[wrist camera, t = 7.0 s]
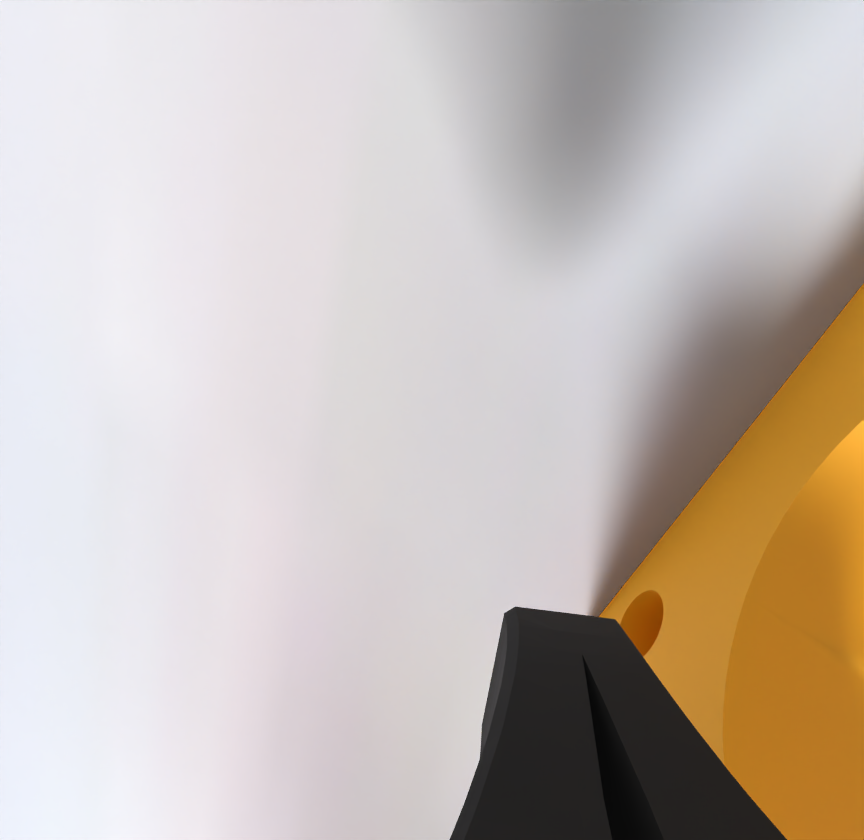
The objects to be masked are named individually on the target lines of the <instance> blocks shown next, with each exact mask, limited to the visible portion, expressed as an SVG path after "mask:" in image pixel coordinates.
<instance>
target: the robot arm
mask: <svg viewBox="0 0 864 840" xmlns="http://www.w3.org/2000/svg"><path fill="white" fill-rule="evenodd" d="M450 840H787V839H786V838H785V837H784V835H783V834H782V833H781V832H780V831H779V830H778V828H777V827H776V826H775V825H774V824H773V823H772V822H771V820H770V819H769V818H768V817H767V816H766V815H765V813H764V812H763V811H762V810H761V809H760V808H759V807H758V805H757V804H756V803H755V802H754V801H753V800H752V798H751V797H750V796H749V795H748V794H747V792H746V791H745V790H744V789H743V788H742V786H741V785H740V784H739V783H738V782H737V780H736V779H735V778H734V777H733V775H732V774H731V773H730V772H729V770H728V769H727V768H726V767H725V765H724V764H723V763H722V761H721V760H720V759H719V758H718V756H717V755H716V754H715V753H714V751H713V750H712V749H711V747H710V746H709V745H708V744H707V742H706V741H705V740H704V738H703V737H702V736H701V735H700V733H699V732H698V731H697V730H696V728H695V727H694V726H693V724H692V723H691V722H690V720H689V719H688V718H687V716H686V715H685V714H684V712H683V711H682V710H681V708H680V707H679V706H678V704H677V703H676V702H675V700H674V699H673V697H672V696H671V695H670V693H669V692H668V691H667V689H666V688H665V687H664V685H663V684H662V682H661V681H660V680H659V678H658V677H657V676H656V674H655V673H654V671H653V670H652V669H651V667H650V666H649V664H648V663H647V662H646V660H645V659H644V658H643V656H642V655H641V653H640V652H639V651H638V649H637V648H636V646H635V645H634V644H633V642H632V641H631V640H630V638H629V637H628V635H627V634H626V633H625V631H624V630H623V629H622V627H621V626H620V625H619V623H618V622H617V621H616V619H610V618H602V617H594V616H586V615H578V614H570V613H562V612H554V611H546V610H538V609H530V608H521V607H514V608H512V609H511V610H509V611H507V612H506V613H504V618H503V623H502V628H501V633H500V638H499V643H498V648H497V653H496V658H495V663H494V668H493V673H492V678H491V683H490V688H489V693H488V698H487V703H486V708H485V713H484V718H483V723H482V736H481V752H480V760H479V763H478V766H477V769H476V772H475V775H474V778H473V780H472V783H471V786H470V789H469V792H468V795H467V798H466V800H465V803H464V806H463V808H462V811H461V813H460V816H459V818H458V821H457V823H456V826H455V828H454V831H453V833H452V835H451V838H450Z"/></svg>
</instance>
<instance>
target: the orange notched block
mask: <svg viewBox="0 0 864 840" xmlns="http://www.w3.org/2000/svg"><path fill="white" fill-rule="evenodd" d="M599 617H602V618H610V619H616V621H617V622H618V623H619V625H620V626H621V627H622V629H623V630H624V631H625V633H626V634H627V635H628V637H629V638H630V640H631V641H632V642H633V644H634V645H635V646H636V648H637V649H638V651H639V652H640V653H641V655H642V656H643V658H644V659H645V660H646V662H647V663H648V664H649V666H650V667H651V669H652V670H653V671H654V673H655V674H656V676H657V677H658V678H659V680H660V681H661V682H662V684H663V685H664V687H665V688H666V689H667V691H668V692H669V693H670V695H671V696H672V697H673V699H674V700H675V702H676V703H677V704H678V706H679V707H680V708H681V710H682V711H683V712H684V714H685V715H686V716H687V718H688V719H689V720H690V722H691V723H692V724H693V726H694V727H695V728H696V730H697V731H698V732H699V733H700V735H701V736H702V737H703V738H704V740H705V741H706V742H707V744H708V745H709V746H710V747H711V749H712V750H713V751H714V753H715V754H716V755H717V756H718V758H719V759H720V760H721V761H722V763H723V764H724V765H725V767H726V768H727V769H728V770H729V772H730V773H731V774H732V775H733V777H734V778H735V779H736V780H737V782H738V783H739V784H740V785H741V786H742V788H743V789H744V790H745V791H746V792H747V794H748V795H749V796H750V797H751V798H752V800H753V801H754V802H755V803H756V804H757V805H758V807H759V808H760V809H761V810H762V811H763V812H764V813H765V815H766V816H767V817H768V818H769V819H770V820H771V822H772V823H773V824H774V825H775V826H776V827H777V828H778V830H779V831H780V832H781V833H782V834H783V835H784V837H785V838H786V839H787V840H864V283H863V285H862V286H861V287H860V288H859V290H858V291H857V292H856V294H855V295H854V296H853V297H852V299H851V300H850V301H849V302H848V304H847V305H846V306H845V307H844V309H843V310H842V311H841V312H840V314H839V315H838V316H837V317H836V319H835V320H834V321H833V322H832V324H831V325H830V326H829V327H828V329H827V330H826V331H825V332H824V334H823V335H822V336H821V338H820V339H819V340H818V341H817V343H816V344H815V345H814V346H813V348H812V349H811V350H810V351H809V353H808V354H807V355H806V356H805V358H804V359H803V360H802V361H801V363H800V364H799V365H798V366H797V368H796V369H795V370H794V371H793V373H792V374H791V375H790V377H789V378H788V379H787V380H786V382H785V383H784V384H783V385H782V387H781V388H780V389H779V390H778V392H777V393H776V394H775V395H774V397H773V398H772V399H771V400H770V402H769V403H768V404H767V405H766V407H765V408H764V409H763V410H762V412H761V413H760V414H759V416H758V417H757V418H756V419H755V421H754V422H753V423H752V424H751V426H750V427H749V428H748V429H747V431H746V432H745V433H744V434H743V436H742V437H741V438H740V439H739V441H738V442H737V443H736V444H735V446H734V447H733V448H732V449H731V451H730V452H729V453H728V454H727V456H726V457H725V458H724V460H723V461H722V462H721V463H720V465H719V466H718V467H717V468H716V470H715V471H714V472H713V473H712V475H711V476H710V477H709V478H708V480H707V481H706V482H705V483H704V485H703V486H702V487H701V488H700V490H699V491H698V492H697V493H696V495H695V496H694V497H693V499H692V500H691V501H690V502H689V504H688V505H687V506H686V507H685V509H684V510H683V511H682V512H681V514H680V515H679V516H678V517H677V519H676V520H675V521H674V522H673V524H672V525H671V526H670V527H669V529H668V530H667V531H666V532H665V534H664V535H663V536H662V538H661V539H660V540H659V541H658V543H657V544H656V545H655V546H654V548H653V549H652V550H651V551H650V553H649V554H648V555H647V556H646V558H645V559H644V560H643V561H642V563H641V564H640V565H639V566H638V568H637V569H636V570H635V571H634V573H633V574H632V575H631V576H630V578H629V579H628V580H627V582H626V583H625V584H624V585H623V587H622V588H621V589H620V590H619V592H618V593H617V594H616V595H615V597H614V598H613V599H612V600H611V602H610V603H609V604H608V605H607V607H606V608H605V609H604V610H603V612H602V613H601V614H600V615H599Z"/></svg>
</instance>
